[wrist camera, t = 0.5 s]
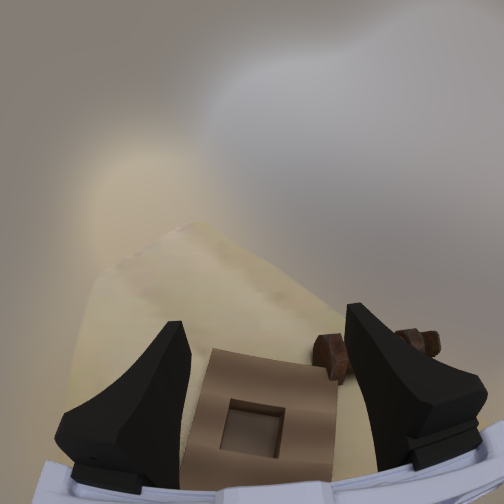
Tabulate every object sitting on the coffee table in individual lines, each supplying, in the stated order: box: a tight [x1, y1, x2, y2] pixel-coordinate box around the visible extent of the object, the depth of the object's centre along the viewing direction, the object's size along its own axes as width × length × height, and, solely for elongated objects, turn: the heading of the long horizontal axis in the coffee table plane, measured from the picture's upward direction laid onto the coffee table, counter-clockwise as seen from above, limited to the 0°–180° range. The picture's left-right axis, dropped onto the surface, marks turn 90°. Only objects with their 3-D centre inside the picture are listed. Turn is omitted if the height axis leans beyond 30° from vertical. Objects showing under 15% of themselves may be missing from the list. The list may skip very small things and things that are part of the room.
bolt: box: [313, 328, 441, 385], centre depth 31 cm, size 6×5×15 cm
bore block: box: [179, 348, 338, 491], centre depth 25 cm, size 14×12×4 cm
